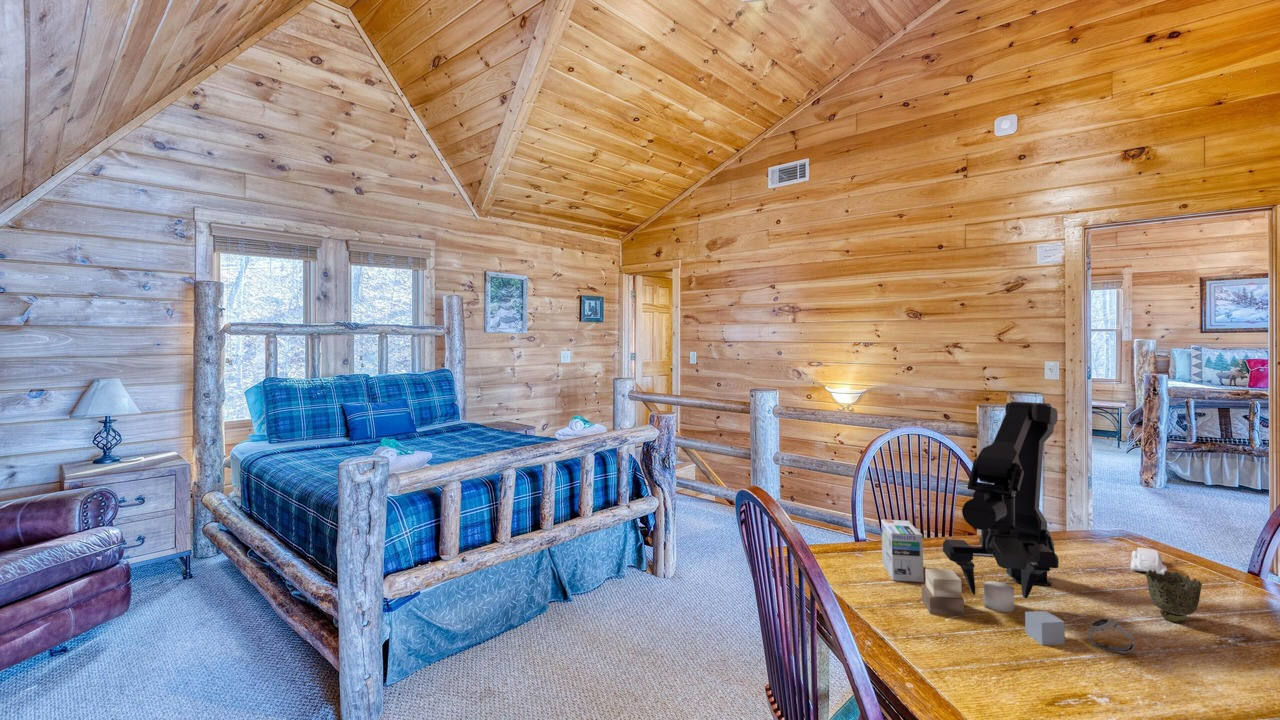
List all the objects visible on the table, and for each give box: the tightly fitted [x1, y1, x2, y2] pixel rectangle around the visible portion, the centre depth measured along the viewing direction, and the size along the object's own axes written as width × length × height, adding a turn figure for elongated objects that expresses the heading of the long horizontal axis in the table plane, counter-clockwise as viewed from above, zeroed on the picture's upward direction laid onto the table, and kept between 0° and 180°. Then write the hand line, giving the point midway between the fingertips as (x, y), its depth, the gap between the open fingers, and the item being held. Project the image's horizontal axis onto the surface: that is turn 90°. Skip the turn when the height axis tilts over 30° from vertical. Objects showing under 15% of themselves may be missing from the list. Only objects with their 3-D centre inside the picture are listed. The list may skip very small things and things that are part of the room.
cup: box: [1145, 570, 1203, 624], centre depth 102 cm, size 8×7×8 cm
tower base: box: [921, 583, 965, 617], centre depth 109 cm, size 6×6×4 cm
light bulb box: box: [880, 519, 924, 583], centre depth 126 cm, size 11×7×11 cm, turn 168°
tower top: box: [924, 568, 963, 598], centre depth 109 cm, size 5×5×4 cm
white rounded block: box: [1129, 547, 1168, 575], centre depth 126 cm, size 12×6×5 cm, turn 140°
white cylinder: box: [983, 580, 1015, 613], centre depth 109 cm, size 5×5×4 cm
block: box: [1024, 610, 1066, 646], centre depth 97 cm, size 4×4×4 cm
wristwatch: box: [1087, 618, 1137, 655], centre depth 93 cm, size 4×6×5 cm, turn 51°
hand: (998, 595), depth 109 cm, fingers open, 9 cm apart
